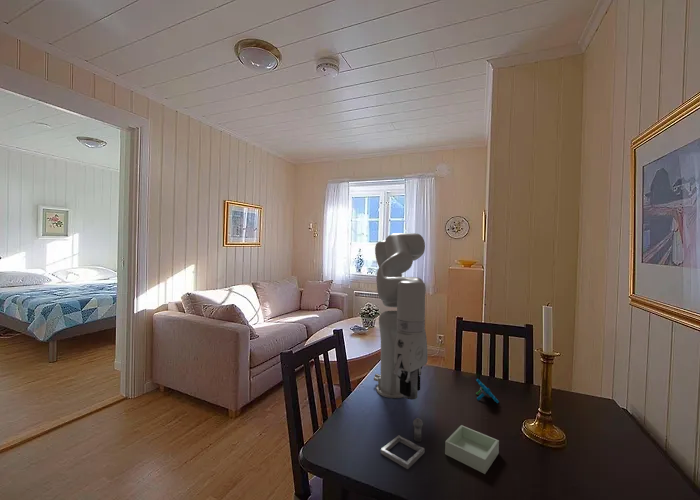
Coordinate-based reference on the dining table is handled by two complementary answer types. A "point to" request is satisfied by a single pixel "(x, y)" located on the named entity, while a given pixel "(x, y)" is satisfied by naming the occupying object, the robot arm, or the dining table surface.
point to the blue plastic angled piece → (485, 392)
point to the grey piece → (417, 438)
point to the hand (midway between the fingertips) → (410, 391)
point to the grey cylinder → (413, 384)
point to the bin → (472, 448)
